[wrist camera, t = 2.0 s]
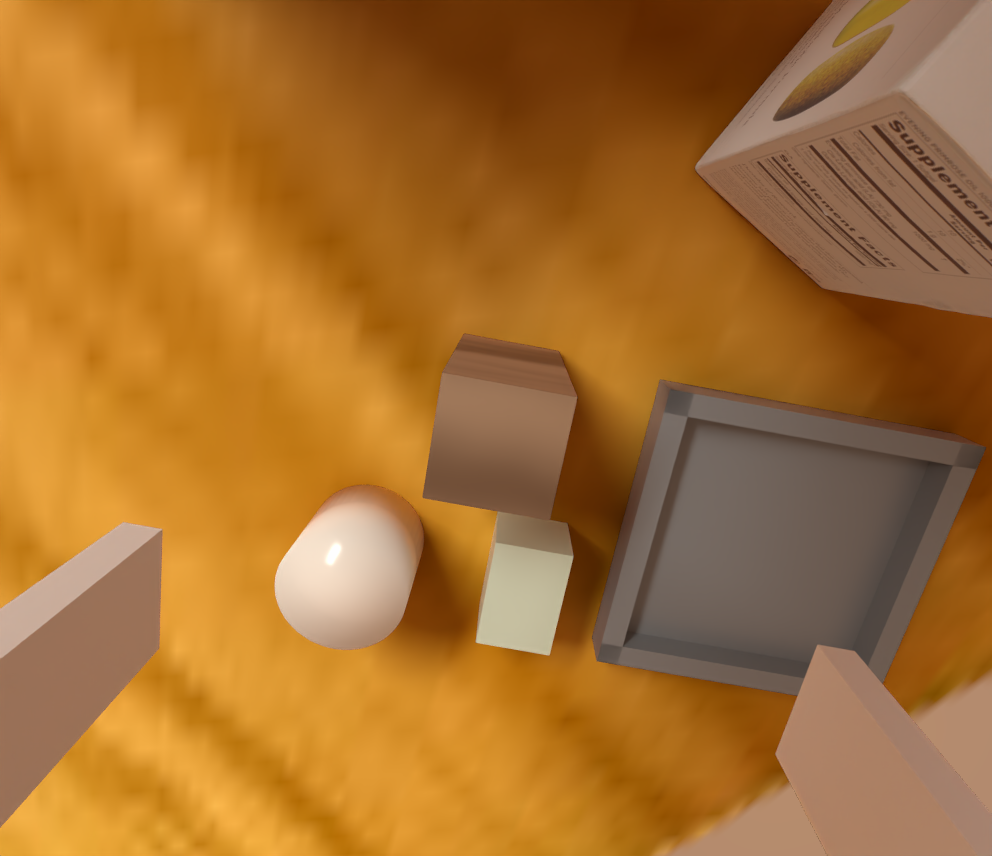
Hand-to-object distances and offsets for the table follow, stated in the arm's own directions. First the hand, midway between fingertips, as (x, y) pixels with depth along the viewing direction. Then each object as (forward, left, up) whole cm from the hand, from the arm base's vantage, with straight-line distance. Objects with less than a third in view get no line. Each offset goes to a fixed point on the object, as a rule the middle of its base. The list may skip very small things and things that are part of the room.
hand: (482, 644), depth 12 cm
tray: (+6, +16, -21) cm, 27 cm away
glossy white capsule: (+10, -6, -21) cm, 24 cm away
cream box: (+10, +3, -22) cm, 24 cm away
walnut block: (0, 0, -21) cm, 21 cm away
